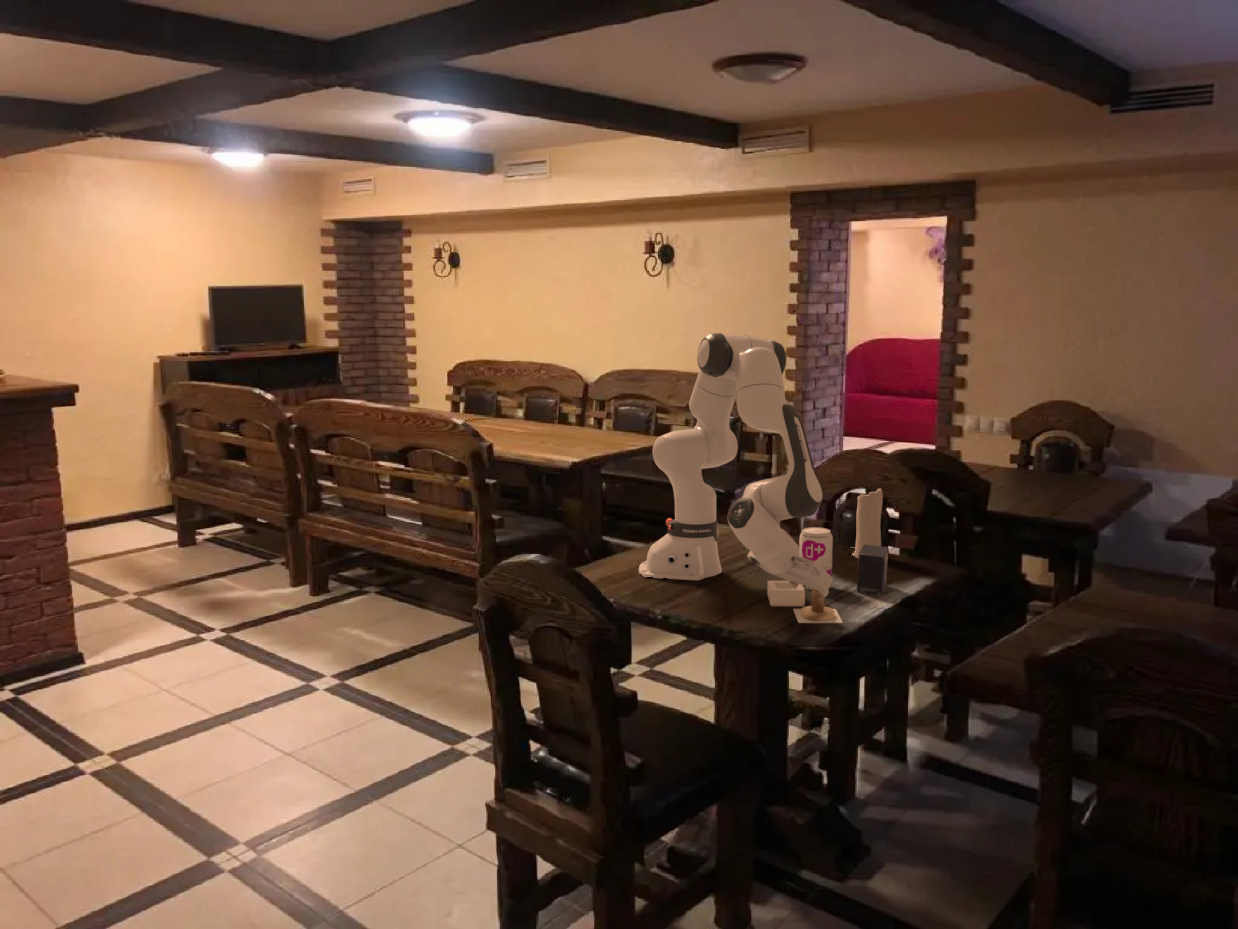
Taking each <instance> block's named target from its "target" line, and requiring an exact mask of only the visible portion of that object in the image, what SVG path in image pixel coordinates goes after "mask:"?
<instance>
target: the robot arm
mask: <svg viewBox="0 0 1238 929" xmlns="http://www.w3.org/2000/svg"><path fill="white" fill-rule="evenodd" d="M699 343H700V344H699V346H698V350H697V354H696V355H697V360H696V361H697V365H698V368H699V372H698V374H697V377H696V380H695V384H694V386H693V389H692V392H691V396H690V399H689V402H688V407H689V411H690V413H691V415H692V416H693V417H694V418H695V419H696V424H695V425H694V427H693V428H690V429H681V430H679V429H678V430H672V431H670V432H667V433H665V434H662V435H660V436H658V437H656V439H655V440H654V443H653V446H652V457H653V461H654V464H655V465H656V466H657V467H658V469H660V471H662V472H663V473H664V474H665V475H666V476H667V478H668V479H669V481H670V484H671V486H672V490H673V498H674V519H672V518H671V517H669V518H667V519H666V521H665V525H666V526H667V527H666V528H667V533H666V534H665V535H664V536H661V538H659V539H658V540H657V541H655V542H654V543H653V544H652V545H651V546H650V547H649V550H648V551H647V556H646V560H645V561H642V562H641V563H640V564H639V567H638V574H639V575H640V574H641V575H642V577H643V578H647V577H653V578H652V579H663V578H667V580H668V579H669V580H683V581H684V580H685V581H701V580H704V579H705V578H710V577H715V576H717V575H720V574H721V573H722V571H723V570H722V566H721V562H720V556H719V552H718V550H719V548H718V540H719V539H718V538H719V522H718V519H717V494H716V491H715V489H714V488H713V487H712V486H711V485H709V484H707V483H706V482H704V479H703V475H702V470H703V469H711V468H717V467H720V466H723V465H725V464H728V463H729V462H731V461H733V460H734V459H735V458H736V456H737V453H738V449H739V445H738V439H737V436H736V434H734V432H733V431H732V430H731V428H730V417H731V413H732V410H733V407H734V404H735V400H736V409H737V413H738V416H739V418H740V419H741V420H742V422H744V424H746V425H747V426H748V427H750V428H751V429H755V430H758V431H761V432H766V433H774V434H779V435H780V436H781V438H782V441H783V444H784V449H785V453H786V458H787V461H788V465H789V469H788V471H787V473H785V474H781V475H778V476H775V477H771V478H765V479H761V480H758V481H754V482H752V483H748V484H747V485H746V486H745V488H744V489H743V491H742V493H741V496H740V498H738V499H736V500H735V501H734V502H733V503H732V504H731V506H730V507H729V509H728V512H727V522H728V525H729V527H730V529H731V531H732V532H733V533H734V534H733V535H735V536H736V538H737V540H739V542H740V543H741V544H742V545H743V546H744V547H745V548H746V550H749V552H748V553H747V555H746V557H747V559H748V560H749V561H751V562H752V563H755V564H756V565H757V566H758V567H760V569H762V570H763V571H764V572H766V573H768V574H769V575H773V576H775V577H778V578H781V579H783V580H784V581H788V582H789V583H790V584H791V585H793V586H796V587H797V586H798V584H801V585H804V586H807V587H810V588H813V589H816V590H818V591H817V592H818V593H819V594H820V595H821V596H824V598H826V597H827V596H828V595H829V593H830V590H829V589H830V588H831V587H832V586H831V584H832V583H833V581H834V578H833V576H832V577H831V576H830V575H829V574H828V573H827V572H826V571H825V570H824V569H823V568H822V567H821V566H820V565H818V564H817V563H816V562H814V561H812V560H809V559H806V558H803V557H799V554H800V549H799V545H798V544H797V542H796V541H795V540H794V539H793V538H792V537H791V535H789V533H788V532H787V531H786V530H785V529H783V528H781V525H780V523H781V521H784V520H789V519H794V518H803V517H806V518H807V517H812V516H814V515H815V513H817V511H818V509H819V508H820V506H821V504H822V502H823V498H824V492H823V489H822V485H821V482H820V480H819V478H818V475H817V472H816V470H815V466H814V462H813V459H812V454H811V450H810V447H809V443H808V439H807V436H806V430H805V428H804V424H803V420H802V419H801V418H802V417H801V415H800V413H799V412H798V410H797V409H796V408H795V407H794V405H790V404H789V403H788V401H787V399H786V396H785V395H786V394H785V385H784V379H783V375H784V372H785V369H786V367H787V352H786V349H785V347H784V346H783V344H782V343H780V342H778V341H776V340H773V339H769V338H768V339H765V338H761V337H756V336H752V335H751V336H750V335H746V334H745V335H740V334H739V335H738V334H723V333H721V332H719V333H717V332H715V333H709V334H707V335H706V336H704V338H702V339H701V341H700V342H699ZM641 575H640V576H641ZM830 586H831V587H830ZM829 587H830V588H829Z"/></svg>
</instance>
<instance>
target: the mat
mask: <svg viewBox="0 0 1238 929" xmlns="http://www.w3.org/2000/svg"><path fill="white" fill-rule="evenodd" d="M801 609H802V608H793V609H792V610H793V613H794V615H795V619H796V620H797V623H798V624H843V623H844V622H843V620H842V618H841V616H840V614H839V612H838V611H837V609H836V608H832V609H833V610H834V618H833V619H831V620H827V621H812V620H808V619H805V618H803V617H802V616H801Z"/></svg>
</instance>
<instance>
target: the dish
mask: <svg viewBox="0 0 1238 929" xmlns="http://www.w3.org/2000/svg"><path fill="white" fill-rule="evenodd" d="M805 595H806V590H804V587H803V585H801V584H798V586H797V587H796V586H793V585H791V584H790V583H789V582H788V581H786V580H767V598H768V602H769V605H770V607H806V606H805V604H806V600H805V599H806V596H805Z"/></svg>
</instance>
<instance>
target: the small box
mask: <svg viewBox="0 0 1238 929" xmlns="http://www.w3.org/2000/svg"><path fill="white" fill-rule="evenodd" d="M888 550H889V549H888V546H882V545H881V546H872V545H864V546H863V547H862V549H861V551H860V553H859V558H858V561H857V562H858V566H857V570H858V571H857V585H856V586H857V587H856V593H857V594H869V595H883V593H884V590H885V588H886V586H887V577H888V576H887V575H888Z"/></svg>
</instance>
